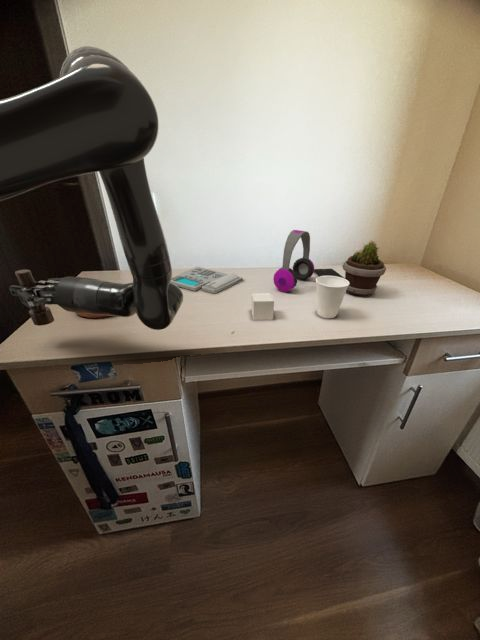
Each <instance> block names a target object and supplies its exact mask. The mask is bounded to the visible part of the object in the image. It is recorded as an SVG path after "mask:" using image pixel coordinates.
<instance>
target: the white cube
mask: <svg viewBox="0 0 480 640" xmlns="http://www.w3.org/2000/svg"><path fill="white" fill-rule="evenodd" d="M274 310H275V299H274V297H273V295H272V292H271V293H270V292H269V293H268V292H267V293H266V292H265V293H263V292H262V293H251V315H252V320H253V321H265V320H269V321H270V320H271V321H272V320H274Z"/></svg>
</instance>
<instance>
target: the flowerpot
mask: <svg viewBox="0 0 480 640" xmlns="http://www.w3.org/2000/svg"><path fill="white" fill-rule="evenodd" d="M377 245H378V244H377V242H376V241H375V240H374V239H373V240H372V239H369V241H368V243H367V244H365V245H364V246H363V248H361V249H359V250H358V251H357V250H356V251H355V252H354V253H353V255H351V256H349V257H348V258H347V260H345V261H344V262H343V264H342V265H341V267H342V270H343V271H345V272H344V278H345V279H346V280H348V281H349V283H350V284H349V286H348V287H347V290H346V293H347V294H350V295H352V296H356V297H359V296H360V297H362V298H363V297H364V298H365V297H366V298H367V297H370V296H372V295H373V294H374V293H375V292H376V290H377V288H378V286H377V284H378V282H379V281H380V278H381V277H382V276H384V275H385V273H386V271H387V267H386V265H385V263H384V262H383V261H382V260H381V259H379V256H380V255H379V250H380V247H378V246H377Z"/></svg>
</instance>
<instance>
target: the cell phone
mask: <svg viewBox="0 0 480 640" xmlns="http://www.w3.org/2000/svg"><path fill="white" fill-rule="evenodd" d="M313 273H315V274H316V275H318V277H320V276H337V277H341V278H344V279H345V276H343V275H341V274H340V273H339V272H337V271H336V270H334V269H333V268H314V272H313Z"/></svg>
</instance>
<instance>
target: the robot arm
mask: <svg viewBox="0 0 480 640" xmlns="http://www.w3.org/2000/svg"><path fill="white" fill-rule="evenodd" d="M159 128H160V123H159V116H158V111H157V107H156V106H155V102H154V101H153V99H152V96H151V95H150V93H149V91H148V90H147V88H146V86H145V85H144V84H143V83H142V81H141V80H140V79H139V78H138V76H137V75H136V74H135V73H134V72H133V71H131V70H130V68H128V67H127V66H126V65H125V64H124V63H123V62H122V61H121V60H120V59H119V58H118V57H116V56H114V55H113V54H111V53H110V52H108V51H106V50H104V49H102V48H99V47H96V46H91V45H90V46H89V45H88V46H87V45H86V46H84V45H83V46H80V47H78V48H75V49H73V50H72V51H71V52H70V53H69V54H67V56H66V57H65V59H64V60H63V62H62V64H61V67H60V71H59V77H57V78H55V79H53V80H51V81H49V82H47V83H45V84H42V85H39V86H37V87H34V88H32V89H29V90H27V91H24V92H22V93H18V94H16V95H12V96H10V97H7V98H3V99H0V203H1V202H4V201H7V200H9V199H10V200H11V199H12V198H15V197H18V196H20V195H23V194H25V193H29V192H31V191H33V190H36V189H38V188H40V187H43V186H45V185H49V184H51V183H55V182H58V181H62V180H66V179H70V178H74V177H79V176H83V175H88V174H94V173H99V175H100V178H101V180H102V183H103V185H104V189H105V191H106V195H107V198H108V201H109V204H110V207H111V211H112V214H113V218H114V222H115V225H116V228H117V233H118V236H119V240H120V243H121V247H122V250H123V253H124V256H125V260H126V262H127V265H128V268H129V272H130V274H131V277H132V282H128V283H124V282H117V281H116V282H115V281H107V280H103V279H99V278H91V277H82V276H74V275H73V276H72V275H71V276H70V275H69V276H64V277H53V278H51V277H50V278H48V279H47V280H39V281H36V280H34V281H35V283H36V286H34V287H23V286H21V285H16V284H15V285H14V284H13V285H10V286H8V290H9V292H10V294H11V295H12V296H13V297H17V298H18V297H19V299H20V302H21V304H22V305H24V306H26V308H28V309H30V310H36V309H38V306H39V304H42V303H44V305H48V306H49V305H52V306H53V305H57V306H59V308H61V309H63V310H64V311H66V312H69V313H71V312H72V313H76V312H77V313H85V314H93V315H110V316H109V317H119V318H130V317H133V316H134V315H136V316H137V318H138V319H139V321H140V323H142V324H143V325H144V326H145V327H147V328H148V329H151V330H155V331H162V330H165V329H166V328H168V327H170V325H171V324H172V323H173V321H174V319H175V318H176V316H177V314H178V312H179V310H180V308H181V306H182V304H183V303H184V294H183V291H182V290H181V287H179V286H176V285H175V284H173V283H171V282H170V281H171V278H172V277H173V270H172V269H173V268H172V264H171V259H170V258H171V257H170V252H169V248H168V244H167V239H166V236H165V233H164V229H163V226H162V223H161V220H160V217H159V214H158V210H157V208H156V205H155V201H154V199H153V194H152V192H151V191H152V190H151V187H150V184H149V178H148V175H147V169H146V168H147V167H146V163H145V157H146V156H147V155H149V154H150V152H152V150H153V148H154V147H155V144H156V142H157V139H158V135H159ZM31 292H33V294H34V295H32V293H31Z"/></svg>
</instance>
